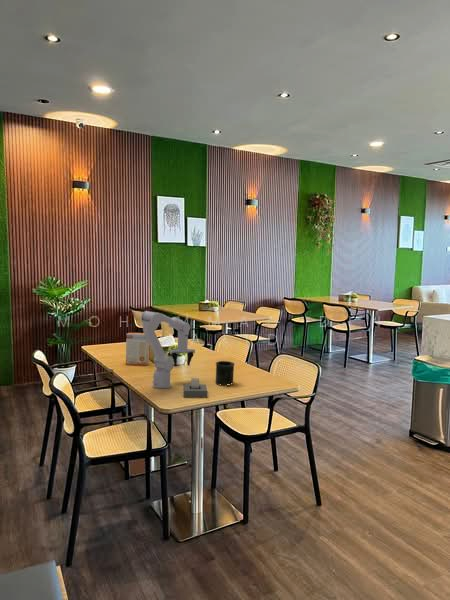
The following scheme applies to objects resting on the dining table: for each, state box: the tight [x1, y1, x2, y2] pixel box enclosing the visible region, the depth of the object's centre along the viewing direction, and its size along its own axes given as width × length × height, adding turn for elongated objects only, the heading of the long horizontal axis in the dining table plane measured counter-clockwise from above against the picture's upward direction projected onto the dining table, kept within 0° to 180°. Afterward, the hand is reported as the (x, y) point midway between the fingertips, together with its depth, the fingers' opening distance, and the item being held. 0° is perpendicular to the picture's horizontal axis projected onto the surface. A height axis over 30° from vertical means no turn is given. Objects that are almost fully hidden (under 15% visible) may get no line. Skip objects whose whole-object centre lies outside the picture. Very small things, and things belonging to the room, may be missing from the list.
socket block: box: [183, 383, 208, 398], centre depth 238 cm, size 12×12×4 cm
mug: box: [215, 360, 235, 386], centre depth 261 cm, size 11×15×12 cm
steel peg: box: [190, 377, 200, 389], centre depth 238 cm, size 4×4×8 cm
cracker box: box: [125, 332, 150, 367], centre depth 296 cm, size 14×6×21 cm, turn 84°
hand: (181, 365), depth 260 cm, fingers open, 7 cm apart
